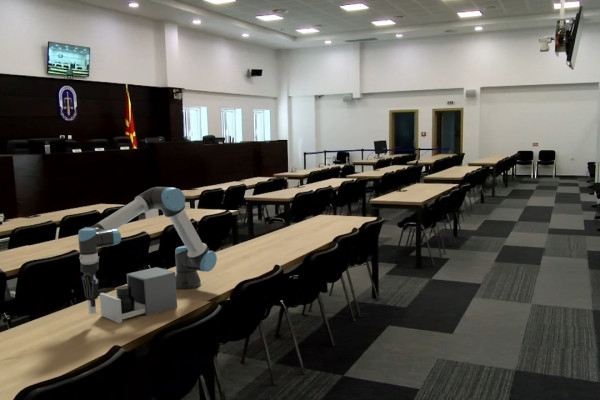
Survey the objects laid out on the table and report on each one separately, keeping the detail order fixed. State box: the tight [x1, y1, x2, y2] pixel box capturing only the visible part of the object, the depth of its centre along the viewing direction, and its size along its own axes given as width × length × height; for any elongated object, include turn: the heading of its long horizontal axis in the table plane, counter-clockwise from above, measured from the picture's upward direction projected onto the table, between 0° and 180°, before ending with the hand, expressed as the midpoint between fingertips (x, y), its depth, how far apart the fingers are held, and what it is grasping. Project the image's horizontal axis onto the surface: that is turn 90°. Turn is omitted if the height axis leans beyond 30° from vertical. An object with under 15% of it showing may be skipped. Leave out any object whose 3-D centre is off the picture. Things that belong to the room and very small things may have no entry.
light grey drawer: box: [99, 292, 146, 324], centre depth 257 cm, size 17×17×11 cm
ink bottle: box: [115, 285, 135, 314], centre depth 256 cm, size 10×9×12 cm
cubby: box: [126, 266, 178, 316], centre depth 267 cm, size 17×17×18 cm
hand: (92, 313), depth 245 cm, fingers closed
